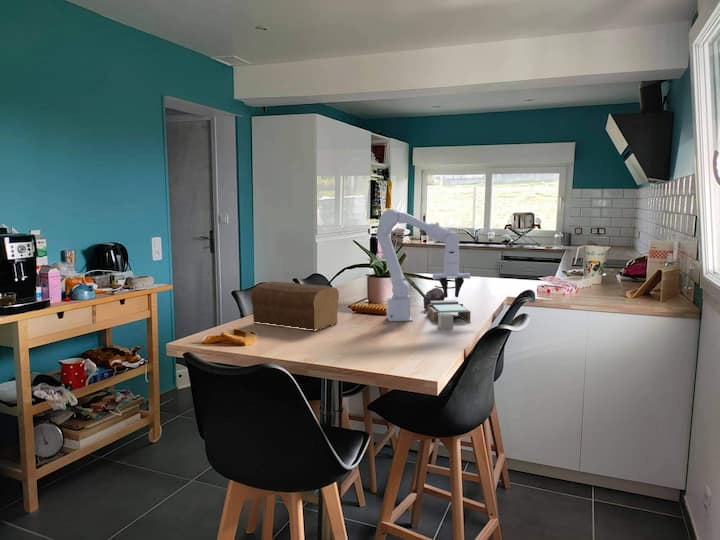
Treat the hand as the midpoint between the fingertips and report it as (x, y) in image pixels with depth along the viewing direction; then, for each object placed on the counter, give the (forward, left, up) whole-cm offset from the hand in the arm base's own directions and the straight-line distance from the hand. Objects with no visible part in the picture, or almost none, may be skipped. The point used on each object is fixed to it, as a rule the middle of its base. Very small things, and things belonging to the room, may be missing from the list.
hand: (451, 297), depth 212 cm
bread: (-61, +2, -10) cm, 62 cm away
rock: (-1, +25, -10) cm, 27 cm away
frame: (0, +4, -9) cm, 10 cm away
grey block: (-5, -12, -7) cm, 15 cm away
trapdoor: (0, +5, -6) cm, 8 cm away
